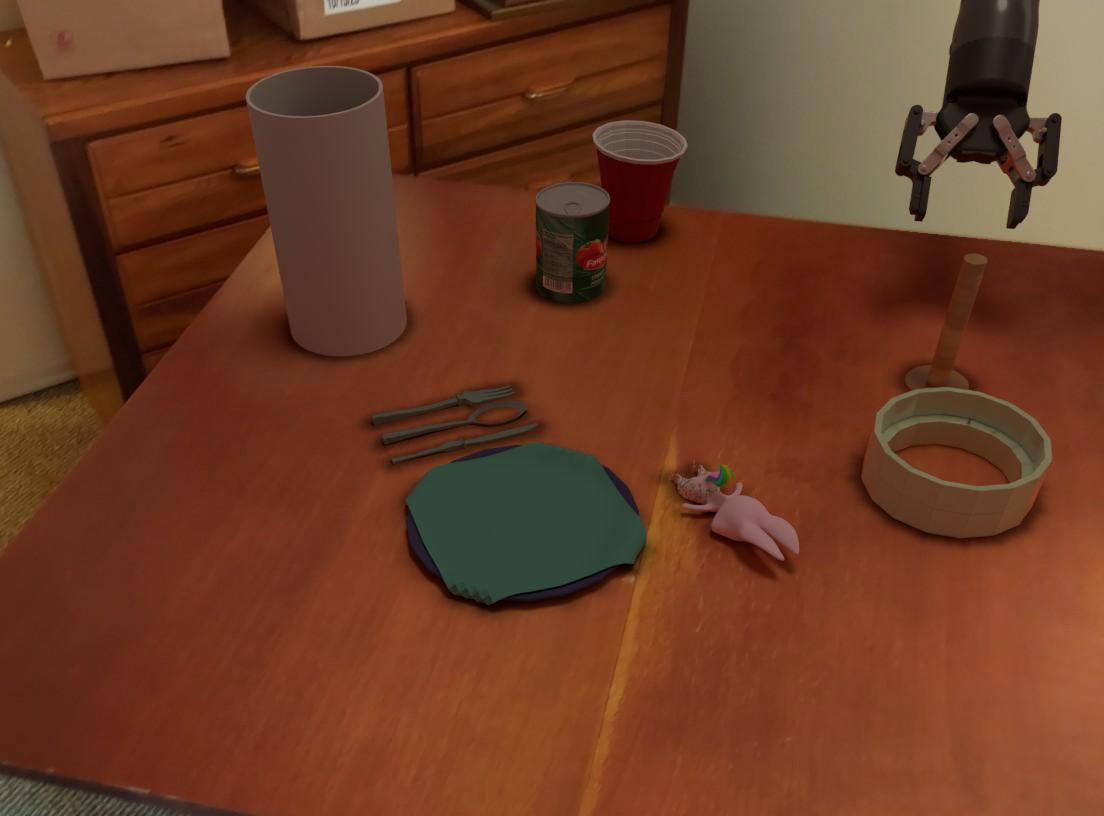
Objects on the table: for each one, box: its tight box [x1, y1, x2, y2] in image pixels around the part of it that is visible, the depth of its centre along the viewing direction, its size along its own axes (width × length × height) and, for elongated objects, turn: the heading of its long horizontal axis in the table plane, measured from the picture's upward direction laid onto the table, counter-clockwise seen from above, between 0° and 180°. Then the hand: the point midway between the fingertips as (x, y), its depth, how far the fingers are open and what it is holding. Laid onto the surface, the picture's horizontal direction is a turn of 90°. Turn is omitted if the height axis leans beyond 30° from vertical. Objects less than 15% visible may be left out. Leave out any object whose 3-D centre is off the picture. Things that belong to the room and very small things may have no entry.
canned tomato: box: [534, 181, 610, 305], centre depth 116 cm, size 8×8×11 cm
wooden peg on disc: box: [904, 253, 988, 391], centre depth 99 cm, size 6×6×14 cm
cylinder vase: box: [245, 65, 408, 357], centre depth 106 cm, size 12×12×25 cm
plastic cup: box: [592, 119, 689, 243], centre depth 124 cm, size 11×11×12 cm
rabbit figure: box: [668, 459, 800, 562], centre depth 89 cm, size 6×6×15 cm
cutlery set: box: [371, 384, 647, 606], centre depth 94 cm, size 20×30×2 cm, turn 21°
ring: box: [860, 387, 1053, 539], centre depth 92 cm, size 14×14×6 cm
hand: (966, 222), depth 102 cm, fingers open, 8 cm apart
